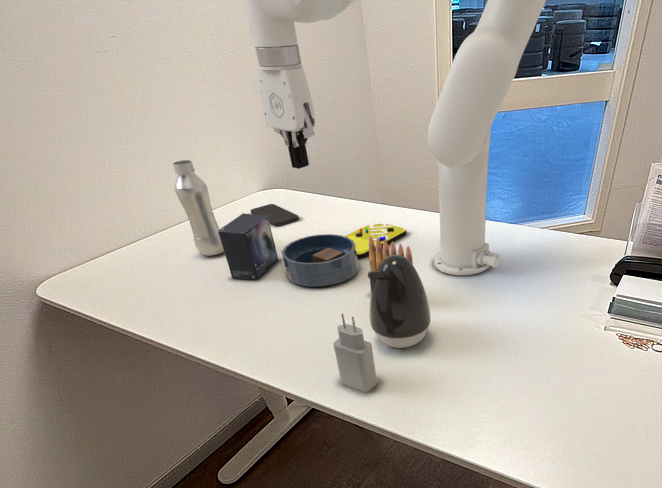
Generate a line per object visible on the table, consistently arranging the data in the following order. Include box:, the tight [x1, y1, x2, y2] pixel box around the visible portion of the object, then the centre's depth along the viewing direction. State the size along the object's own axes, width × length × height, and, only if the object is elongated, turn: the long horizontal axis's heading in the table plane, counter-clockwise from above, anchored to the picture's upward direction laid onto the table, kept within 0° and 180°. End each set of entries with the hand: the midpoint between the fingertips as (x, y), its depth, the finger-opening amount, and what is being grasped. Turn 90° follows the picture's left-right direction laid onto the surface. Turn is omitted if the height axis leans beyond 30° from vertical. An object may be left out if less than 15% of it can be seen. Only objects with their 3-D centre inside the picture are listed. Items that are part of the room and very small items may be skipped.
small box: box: [218, 213, 279, 281], centre depth 103 cm, size 11×6×10 cm, turn 168°
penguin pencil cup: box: [367, 254, 432, 349], centre depth 78 cm, size 10×10×15 cm
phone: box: [250, 203, 299, 227], centre depth 131 cm, size 7×1×15 cm
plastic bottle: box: [172, 159, 224, 257], centre depth 107 cm, size 6×7×20 cm
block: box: [313, 248, 344, 263], centre depth 101 cm, size 4×4×4 cm
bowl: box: [281, 233, 360, 288], centre depth 102 cm, size 15×15×6 cm
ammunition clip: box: [368, 236, 414, 292], centre depth 90 cm, size 11×2×12 cm, turn 54°
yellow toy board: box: [344, 222, 407, 260], centre depth 116 cm, size 18×11×2 cm, turn 146°
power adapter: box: [332, 313, 378, 393], centre depth 71 cm, size 3×5×12 cm, turn 60°
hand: (300, 166), depth 99 cm, fingers closed
